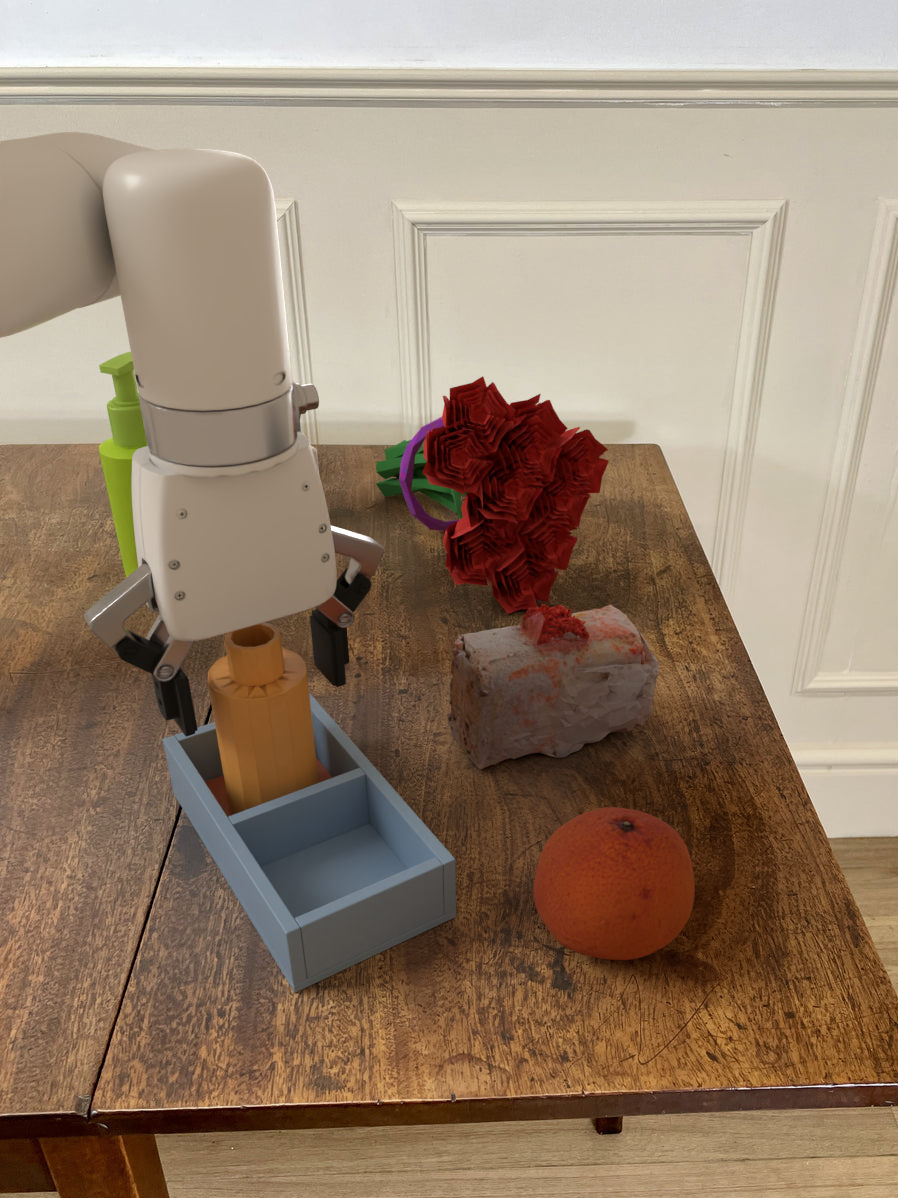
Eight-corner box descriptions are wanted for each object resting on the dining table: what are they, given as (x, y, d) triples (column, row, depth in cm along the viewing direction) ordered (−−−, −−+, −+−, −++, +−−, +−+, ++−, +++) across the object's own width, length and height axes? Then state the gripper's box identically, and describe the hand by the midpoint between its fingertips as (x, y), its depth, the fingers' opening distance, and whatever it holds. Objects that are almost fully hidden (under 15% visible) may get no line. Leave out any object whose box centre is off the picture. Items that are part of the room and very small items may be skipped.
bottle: (250, 842, 64) (223, 672, 57) (216, 791, 68) (187, 627, 61) (334, 809, 66) (318, 643, 59) (297, 762, 70) (278, 601, 63)
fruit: (670, 870, 64) (685, 768, 59) (698, 986, 56) (718, 880, 52) (526, 872, 63) (530, 770, 59) (535, 990, 56) (541, 883, 51)
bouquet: (465, 529, 117) (623, 589, 92) (328, 561, 110) (460, 636, 85) (445, 347, 109) (612, 360, 85) (296, 368, 102) (432, 390, 78)
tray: (294, 993, 55) (286, 933, 53) (173, 794, 69) (161, 738, 66) (456, 917, 60) (455, 858, 58) (314, 744, 73) (308, 690, 71)
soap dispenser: (218, 574, 94) (184, 351, 83) (167, 608, 89) (123, 375, 77) (167, 560, 96) (126, 341, 84) (114, 593, 90) (63, 364, 79)
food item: (605, 683, 81) (615, 570, 75) (658, 740, 75) (674, 622, 69) (441, 723, 76) (439, 606, 70) (484, 788, 70) (485, 665, 64)
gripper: (342, 375, 60) (360, 632, 69) (25, 430, 51) (95, 712, 61) (406, 415, 54) (415, 686, 64) (65, 482, 46) (134, 781, 56)
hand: (259, 698), depth 63 cm, fingers open, 9 cm apart
